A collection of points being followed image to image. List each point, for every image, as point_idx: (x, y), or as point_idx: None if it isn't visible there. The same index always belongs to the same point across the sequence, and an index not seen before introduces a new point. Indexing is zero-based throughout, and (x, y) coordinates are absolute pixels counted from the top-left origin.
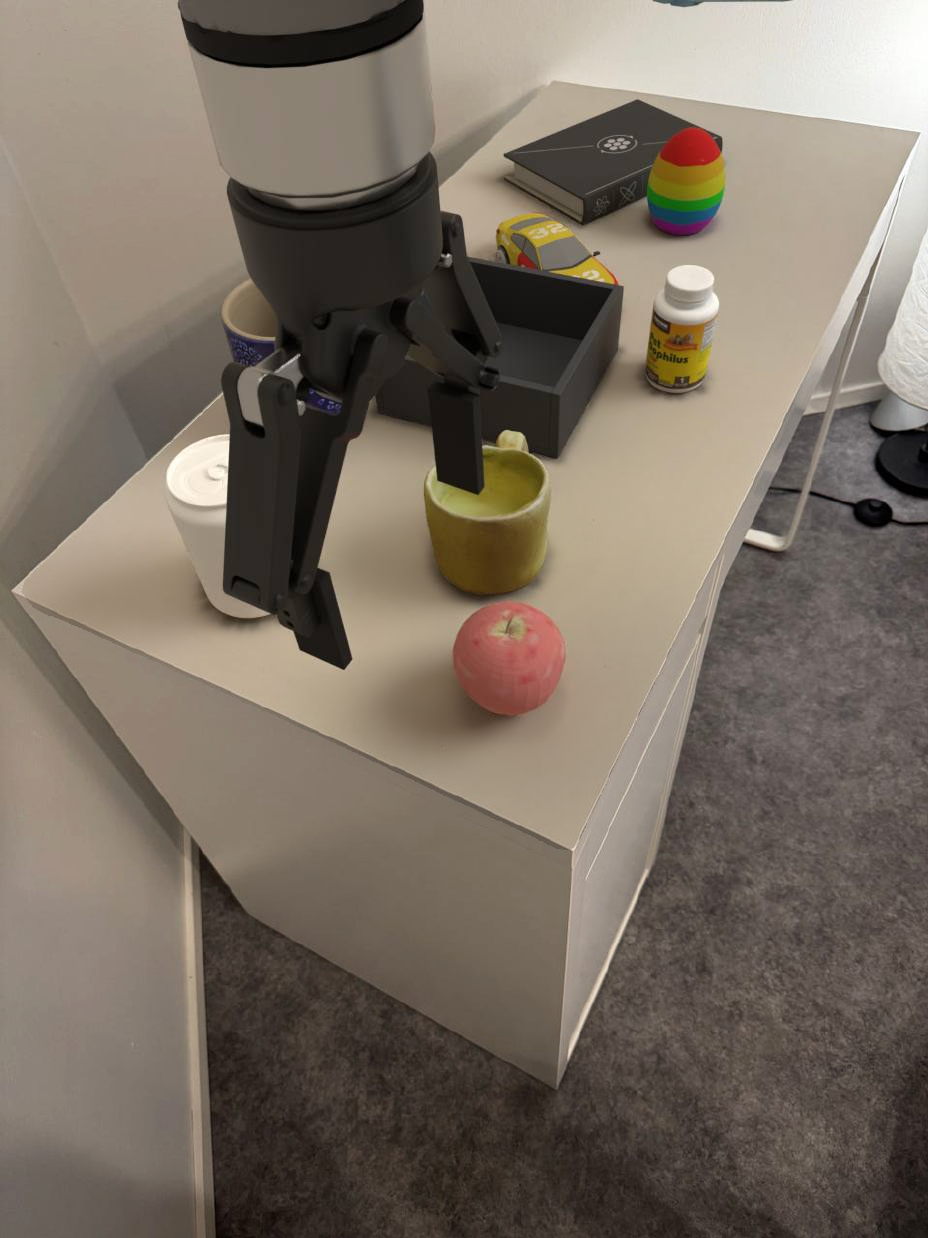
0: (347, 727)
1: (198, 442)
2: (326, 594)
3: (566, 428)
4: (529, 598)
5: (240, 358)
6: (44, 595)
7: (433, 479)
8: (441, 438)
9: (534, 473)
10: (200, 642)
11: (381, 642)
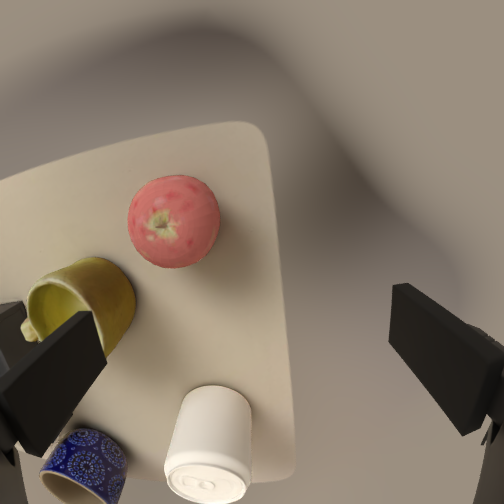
0: (275, 296)
1: (196, 501)
2: (484, 342)
3: (5, 306)
4: (111, 251)
5: (117, 497)
6: (293, 472)
7: None
8: (71, 393)
9: (36, 300)
10: (274, 407)
11: (204, 319)
